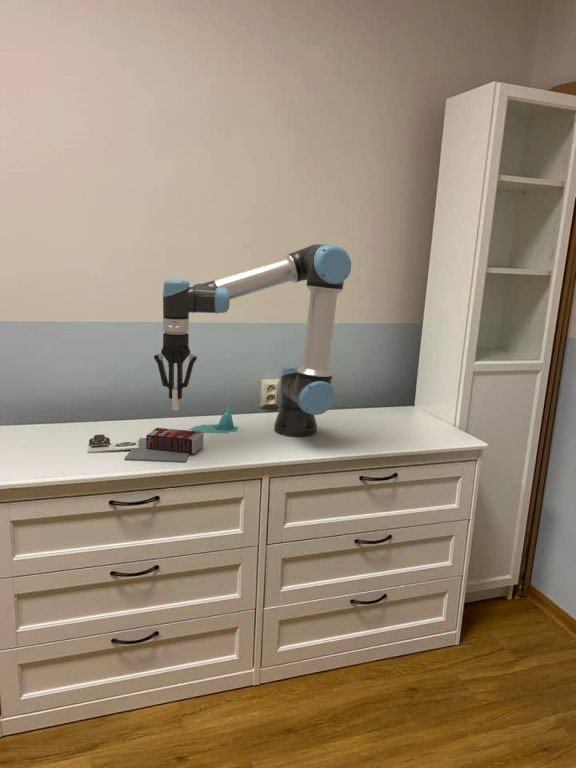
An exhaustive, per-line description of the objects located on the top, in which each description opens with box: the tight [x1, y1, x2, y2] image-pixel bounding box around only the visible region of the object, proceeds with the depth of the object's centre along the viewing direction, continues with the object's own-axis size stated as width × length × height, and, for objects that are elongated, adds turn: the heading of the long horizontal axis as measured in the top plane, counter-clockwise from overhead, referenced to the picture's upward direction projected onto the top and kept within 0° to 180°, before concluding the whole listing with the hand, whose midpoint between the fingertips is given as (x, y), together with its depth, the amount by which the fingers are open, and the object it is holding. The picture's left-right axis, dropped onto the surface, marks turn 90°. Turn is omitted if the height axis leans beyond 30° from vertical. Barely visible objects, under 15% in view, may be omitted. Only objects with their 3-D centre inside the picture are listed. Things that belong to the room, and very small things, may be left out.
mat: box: [123, 437, 191, 463], centre depth 188 cm, size 18×20×1 cm
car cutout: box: [87, 433, 139, 454], centre depth 187 cm, size 15×7×4 cm, turn 105°
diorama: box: [190, 405, 240, 434], centre depth 212 cm, size 12×20×9 cm, turn 100°
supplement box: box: [145, 427, 205, 455], centre depth 189 cm, size 9×5×16 cm
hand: (175, 409), depth 185 cm, fingers closed
